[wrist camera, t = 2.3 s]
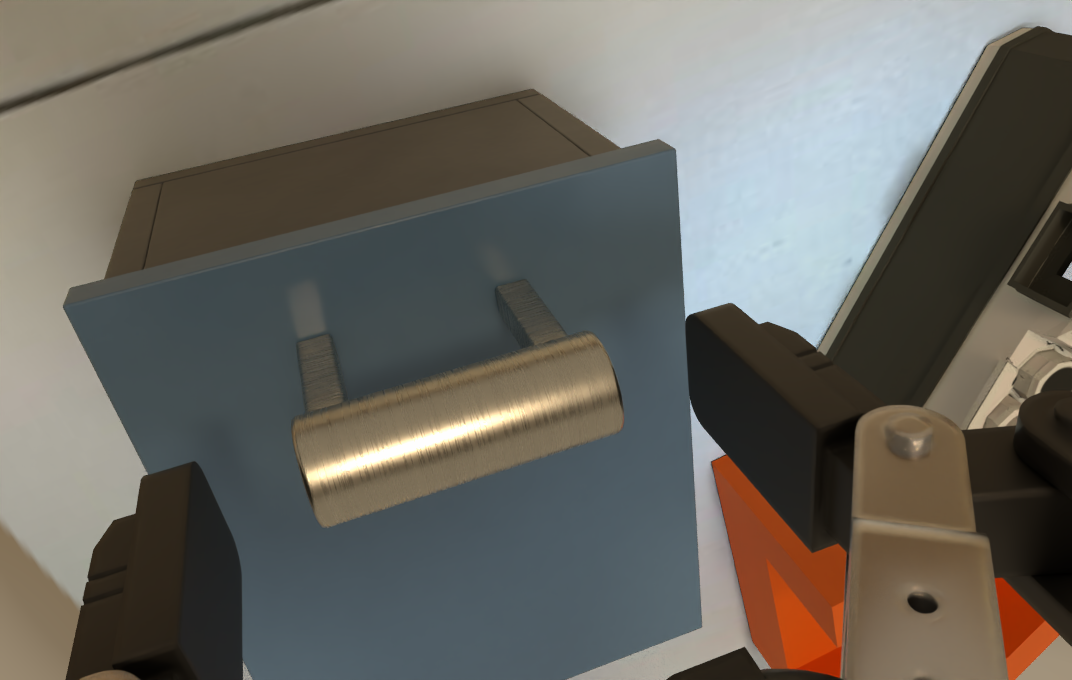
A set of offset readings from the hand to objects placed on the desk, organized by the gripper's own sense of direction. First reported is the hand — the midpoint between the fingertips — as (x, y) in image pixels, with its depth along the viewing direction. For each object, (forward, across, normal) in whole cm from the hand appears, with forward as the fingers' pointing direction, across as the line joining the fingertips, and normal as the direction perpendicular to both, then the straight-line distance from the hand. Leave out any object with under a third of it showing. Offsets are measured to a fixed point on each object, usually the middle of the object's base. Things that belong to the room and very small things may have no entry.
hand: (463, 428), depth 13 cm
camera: (+14, -22, +8) cm, 27 cm away
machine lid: (+5, 0, +5) cm, 7 cm away
